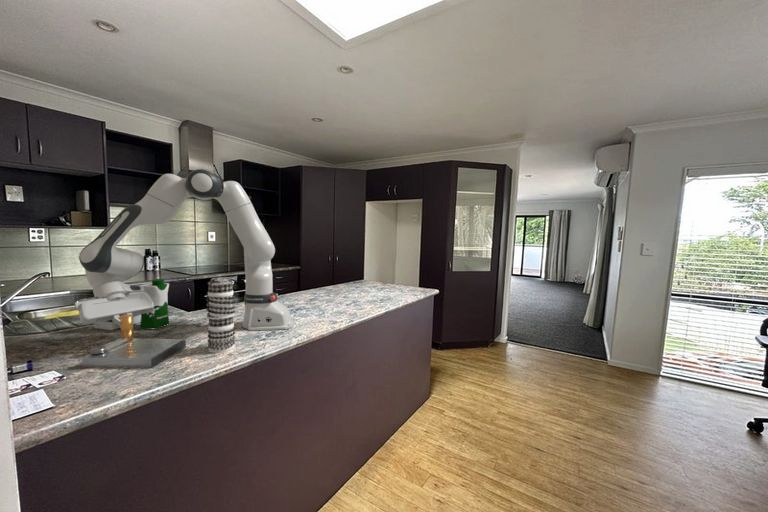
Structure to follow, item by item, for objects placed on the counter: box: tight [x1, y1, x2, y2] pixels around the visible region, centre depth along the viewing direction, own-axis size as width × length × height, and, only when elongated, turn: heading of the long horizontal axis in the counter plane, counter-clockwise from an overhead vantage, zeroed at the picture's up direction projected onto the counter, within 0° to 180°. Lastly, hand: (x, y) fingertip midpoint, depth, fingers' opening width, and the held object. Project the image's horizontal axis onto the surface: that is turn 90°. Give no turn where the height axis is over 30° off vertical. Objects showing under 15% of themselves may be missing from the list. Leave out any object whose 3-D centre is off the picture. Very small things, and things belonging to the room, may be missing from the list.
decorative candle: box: [205, 276, 236, 354], centre depth 108 cm, size 9×9×25 cm
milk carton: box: [138, 278, 170, 330], centre depth 129 cm, size 9×9×20 cm
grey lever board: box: [81, 338, 187, 369], centre depth 100 cm, size 21×16×3 cm
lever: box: [89, 315, 135, 355], centre depth 98 cm, size 14×4×8 cm, turn 2°
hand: (126, 326), depth 106 cm, fingers closed
